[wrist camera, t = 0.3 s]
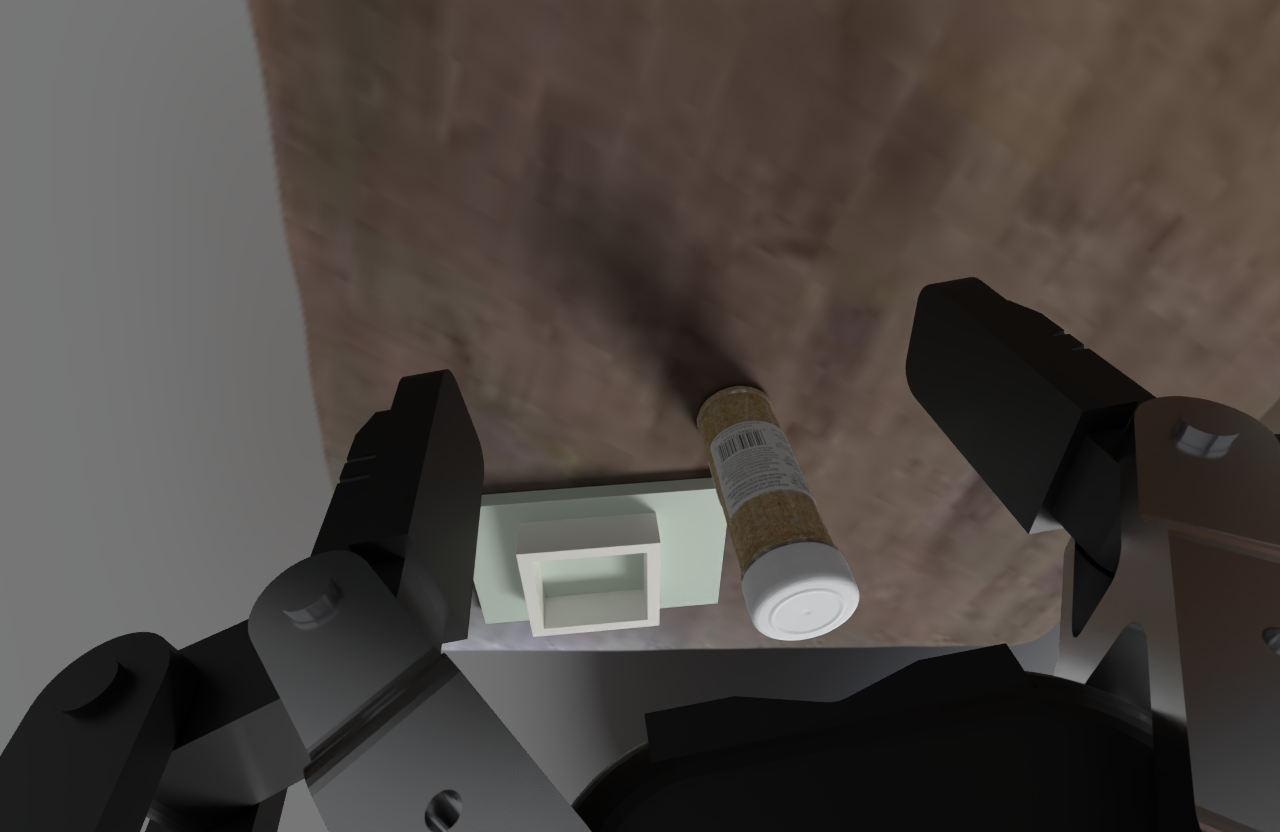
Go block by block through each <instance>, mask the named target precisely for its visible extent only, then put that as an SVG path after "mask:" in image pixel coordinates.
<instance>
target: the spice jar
mask: <svg viewBox="0 0 1280 832" xmlns="http://www.w3.org/2000/svg"><path fill="white" fill-rule="evenodd" d="M697 427H698V432H699V434H700V435H701V437H702V438H703V442H704V445H705V448H706V452H707V456H708V459H709V467H710V471H711V475H712V478H713V482H714V485H715V489H716V492H717V496H718V499H719V502H720V505H721V506H722V508H723V512H724V516H725V519H726V522H727V525H728V529H729V532H730V535H731V539H732V542H733V546H734V548H735V552H736V555H737V558H738V561H739V565H740V568H741V571H742V575H741V580H742V591H743V595H744V598H745V601H746V605H747V608H748V611H749V614H750V617H751V620H752V622H753V624H754V626H755V627H756V628H757V629H758V630H759V631H760V632H761V633H763V634H764V635H766V636H768V637H771V638H774V639H779V640H803V639H808V638H813V637H816V636H819V635H822V634H825V633H827V632H829V631H831V630H833V629H835V628H837V627H838V626H840V625H841V624H843V623H844V622H845V621H846V620H847V619H848V618H849V617H850V616H851V615H852V614H853V612H854V611H855V609H856V608H857V605H858V602H859V591H858V587H857V585H856V582H855V580H854V578H853V575H852V573H851V571H850V568H849V566H848V564H847V562H846V560H845V558H844V556H843V555H842V554H841V553H840V552H839V550H838V548H837V547H836V546H835V545H834V544H833V542H832V540H831V537H830V536H829V534H828V531H827V529H826V527H825V525H824V523H823V521H822V518H821V516H820V513H819V511H818V507H817V504H816V502H815V500H814V497H813V495H812V493H811V491H810V489H809V487H808V484H807V482H806V480H805V478H804V476H803V473H802V471H801V469H800V467H799V465H798V462H797V460H796V458H795V456H794V454H793V451H792V449H791V447H790V445H789V443H788V440H787V438H786V436H785V434H784V433H783V432H782V430H781V428H780V426H779V424H778V421H777V419H776V417H775V415H774V413H773V406H772V403H771V401H770V399H769V398H768V397H767V395H766V394H765V393H764V392H762V391H760V390H758V389H755V388H752V387H748V386H733V387H729V388H726V389H724V390H721V391H719V392H717V393H715V394H714V395H712V396H711V397H709V398H708V399H707V400H706V401H705V402H704V404H703V405H702V407H701V409H700V411H699V413H698V417H697Z"/></svg>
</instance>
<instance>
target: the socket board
mask: <svg viewBox="0 0 1280 832" xmlns="http://www.w3.org/2000/svg"><path fill="white" fill-rule="evenodd" d="M726 526H727V522H726V519H725V516H724V512H723V508H722V506H721V505H720V502H719V499H718V496H717V492H716V489H715V485H714V482H713V478H700V479H686V480H673V481H659V482H646V483H633V484H619V485H606V486H592V487H579V488H565V489H552V490H539V491H525V492H512V493H498V494H485V495H482V499H481V509H480V519H479V529H478V539H477V549H476V558H475V568H474V578H473V580H474V583H475V587H476V590H477V594H478V597H479V601H480V604H481V608H482V611H483V615H484V618H485V621H486V624H489V623H501V622H512V621H523V620H530V623H531V628H532V633H533V637H537V636H548V635H559V634H570V633H581V632H592V631H603V630H614V629H625V628H636V627H647V626H658V625H659V608H668V607H680V606H691V605H702V604H713V603H718V595H719V586H720V578H721V569H722V561H723V552H724V544H725V535H726Z"/></svg>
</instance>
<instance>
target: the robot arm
mask: <svg viewBox="0 0 1280 832" xmlns="http://www.w3.org/2000/svg"><path fill="white" fill-rule="evenodd" d="M906 377H907V382H908V385H909V388H910V390H911V392H912V394H913V396H914V397H915V398H916V399H917V401H918V402H919V403H920V404H921V405H922V407H923V408H924V409H925V410H926V411H927V413H928V414H929V415H930V416H931V417H932V419H933V420H934V421H935V422H936V423H937V425H938V426H939V427H940V428H941V429H942V431H943V432H944V433H945V434H946V435H947V437H948V438H949V439H950V440H951V441H952V443H953V444H954V445H955V446H956V447H957V449H958V450H959V451H960V452H961V453H962V455H963V456H964V457H965V458H966V460H967V461H968V462H969V463H970V464H971V466H972V467H973V468H974V469H975V470H976V472H977V473H978V474H979V475H980V476H981V478H982V479H983V480H984V481H985V482H986V484H987V485H988V486H989V487H990V488H991V490H992V491H993V492H994V493H995V494H996V496H997V497H998V498H999V499H1000V500H1001V502H1002V503H1003V504H1004V505H1005V506H1006V508H1007V509H1008V510H1009V511H1010V512H1011V514H1012V515H1013V516H1014V517H1015V518H1016V520H1017V521H1018V522H1019V523H1020V524H1021V526H1022V527H1023V528H1024V529H1025V530H1026V532H1027V533H1028V534H1033V533H1038V532H1043V531H1048V530H1054V529H1059V528H1064V529H1065V530H1066V531H1067V532H1068V533H1069V534H1070V535H1071V538H1070V540H1069V542H1068V544H1067V546H1066V548H1065V552H1064V565H1063V585H1062V604H1061V623H1060V642H1059V643H1060V644H1059V654H1058V659H1057V664H1056V668H1055V671H1054V674H1053V676H1052V675H1047V674H1041V673H1035V672H1028V671H1024V670H1023V668H1022V667H1021V665H1020V664H1019V662H1018V661H1017V659H1016V658H1015V656H1014V655H1013V653H1012V652H1011V650H1010V649H1009V647H1008V646H1007V644H1006V643H1005V644H999V645H994V646H989V647H984V648H979V649H975V650H969V651H964V652H958V653H954V654H948V655H943V656H938V657H933V658H928V659H923V660H918V661H916V662H914V663H912V664H910V665H908V666H907V667H905V668H903V669H901V670H899V671H897V672H895V673H893V674H891V675H889V676H887V677H886V678H884V679H882V680H880V681H878V682H876V683H874V684H872V685H870V686H868V687H866V688H865V689H863V690H861V691H859V692H857V693H855V694H853V695H851V696H849V697H847V698H846V699H843V700H840V701H837V702H812V701H797V700H782V699H767V698H752V697H737V696H734V697H729V698H723V699H718V700H713V701H708V702H703V703H698V704H693V705H688V706H682V707H677V708H672V709H667V710H662V711H657V712H652V713H646V714H645V721H646V728H647V735H648V741H646V742H644V743H642V744H641V745H639V746H636V747H635V748H633V749H631V750H630V751H628V752H627V753H625V754H624V755H622V756H621V757H619V758H618V759H616V760H615V761H614V762H612V763H611V764H610V765H609V766H607V767H606V768H605V769H604V770H603V771H602V772H601V773H600V774H599V775H597V776H596V777H595V778H594V779H593V780H592V781H591V782H590V783H589V785H588V786H587V787H586V788H585V789H584V790H583V791H582V792H581V794H580V795H579V796H578V797H577V798H576V800H575V801H574V802H573V804H572V805H571V806H570V804H569V803H568V802H567V801H566V800H565V798H564V797H563V796H562V795H561V793H560V792H559V791H558V790H557V789H556V787H555V786H554V785H553V784H552V782H551V781H550V780H549V779H548V778H547V776H546V775H545V774H544V773H543V771H542V770H541V769H540V768H539V766H538V765H537V764H536V763H535V762H534V760H533V759H532V758H531V757H530V756H529V754H528V753H527V752H526V751H525V749H524V748H523V747H522V746H521V744H520V743H519V742H518V741H517V740H516V738H515V737H514V736H513V735H512V734H511V732H510V731H509V730H508V728H507V727H506V726H505V725H504V724H503V723H502V721H501V720H500V719H499V718H498V716H497V715H496V714H495V713H494V711H493V710H492V709H491V708H490V706H489V705H488V704H487V703H486V702H485V700H484V699H483V698H482V697H481V695H480V694H479V693H478V692H477V691H476V689H475V688H474V687H473V686H472V684H471V683H470V682H469V681H468V679H467V678H466V677H465V676H464V675H463V673H462V672H461V671H460V670H459V669H458V667H457V666H456V665H455V664H454V663H453V662H452V660H451V659H450V658H449V657H448V656H447V655H446V654H445V653H443V654H441V647H442V644H443V643H448V642H453V641H459V640H464V639H467V637H468V627H469V617H470V608H471V598H472V588H473V578H474V568H475V558H476V549H477V539H478V529H479V519H480V509H481V499H482V489H483V480H484V461H483V454H482V449H481V445H480V441H479V438H478V436H477V433H476V430H475V428H474V425H473V423H472V420H471V418H470V415H469V413H468V410H467V407H466V405H465V402H464V400H463V397H462V395H461V392H460V390H459V387H458V384H457V382H456V380H455V377H454V376H453V374H452V372H451V371H450V370H448V369H445V370H440V371H434V372H428V373H423V374H417V375H412V376H406V377H403V378H401V380H400V382H399V385H398V388H397V391H396V394H395V397H394V400H393V404H392V407H391V410H386V411H381V412H376V413H375V414H374V415H373V416H372V417H371V418H370V419H369V421H368V422H367V423H366V424H365V425H364V426H363V427H362V428H361V429H360V431H359V432H358V433H357V434H356V435H355V438H354V440H353V443H352V446H351V449H350V451H349V454H348V457H347V462H348V463H345V465H344V467H343V470H342V473H341V475H340V478H339V479H340V483H339V484H337V486H336V489H335V492H334V494H333V497H332V500H331V503H330V505H329V508H328V510H327V513H326V516H325V518H324V521H323V524H322V526H321V529H320V532H319V535H318V537H317V540H316V543H315V545H314V548H313V551H312V554H311V556H310V557H308V558H306V559H304V560H301V561H299V562H298V563H296V564H294V565H293V566H291V567H289V568H288V569H286V570H285V571H284V572H282V573H281V574H280V575H279V576H277V577H276V578H275V579H274V580H273V581H272V582H271V583H270V584H269V585H268V586H267V587H266V588H265V589H264V591H263V592H262V593H261V595H260V596H259V597H258V599H257V601H256V602H255V604H254V606H253V608H252V610H251V613H250V616H249V619H247V620H245V621H243V622H241V623H239V624H237V625H234V626H232V627H230V628H228V629H225V630H223V631H221V632H219V633H216V634H214V635H212V636H210V637H207V638H205V639H203V640H201V641H199V642H196V643H194V644H192V645H189V646H187V647H185V648H183V649H180V650H177V649H176V648H174V647H173V646H172V645H171V644H170V643H169V642H167V641H166V640H165V639H164V638H163V637H161V636H159V635H157V634H155V633H150V632H137V633H131V634H126V635H123V636H120V637H117V638H114V639H112V640H110V641H107V642H105V643H103V644H101V645H99V646H97V647H95V648H93V649H92V650H90V651H88V652H87V653H85V654H84V655H82V656H81V657H79V658H78V659H76V660H75V661H74V662H72V663H71V664H70V665H68V666H67V667H66V668H65V669H64V670H63V671H61V672H60V673H59V674H58V675H57V676H56V677H55V678H54V679H53V680H52V681H51V682H50V683H49V684H48V685H47V686H46V687H45V688H44V689H43V691H42V692H41V693H40V694H39V696H38V697H37V698H36V700H35V701H34V702H33V704H32V705H31V707H30V708H29V710H28V712H27V713H26V715H25V717H24V718H23V720H22V722H21V723H20V725H19V726H18V728H17V730H16V731H15V733H14V735H13V736H12V738H11V739H10V741H9V743H8V744H7V746H6V748H5V749H4V751H3V753H2V754H1V756H0V832H140V830H141V828H142V825H143V822H144V820H145V818H146V817H148V818H150V820H149V823H148V826H147V828H146V831H145V832H277V829H278V825H279V821H280V817H281V813H282V809H283V805H284V801H285V797H286V792H287V788H288V787H289V786H291V785H293V784H294V783H297V782H298V781H300V780H302V779H304V778H305V781H306V784H307V786H308V789H309V791H310V794H311V796H312V798H313V800H314V802H315V804H316V806H317V808H318V810H319V812H320V814H321V817H322V819H323V821H324V823H325V825H326V827H327V829H328V831H329V832H1280V434H1273V433H1272V432H1271V431H1270V430H1269V429H1268V428H1267V427H1266V426H1265V425H1263V424H1262V423H1261V422H1259V421H1258V420H1256V419H1255V418H1253V417H1251V416H1249V415H1247V414H1246V413H1243V412H1241V411H1239V410H1237V409H1235V408H1232V407H1229V406H1226V405H1224V404H1220V403H1217V402H1213V401H1209V400H1205V399H1200V398H1193V397H1183V396H1167V397H1159V398H1156V397H1155V396H1153V395H1152V394H1151V393H1149V392H1148V391H1147V390H1145V389H1144V388H1142V387H1141V386H1140V385H1138V384H1137V383H1136V382H1134V381H1133V380H1131V379H1130V378H1129V377H1127V376H1126V375H1125V374H1123V373H1122V372H1121V371H1119V370H1118V369H1116V368H1115V367H1114V366H1112V365H1111V364H1110V363H1108V362H1107V361H1106V360H1104V359H1103V358H1101V357H1100V356H1099V355H1097V354H1096V353H1095V352H1093V351H1092V350H1091V349H1089V348H1088V349H1084V344H1082V343H1081V342H1080V341H1078V340H1077V339H1076V338H1074V337H1073V336H1071V335H1070V334H1064V330H1063V329H1062V328H1061V327H1059V326H1058V325H1056V324H1055V323H1054V322H1052V321H1051V320H1050V319H1048V318H1047V317H1045V316H1044V315H1043V314H1041V313H1039V312H1037V311H1034V310H1032V309H1029V308H1027V307H1024V306H1022V305H1019V304H1017V303H1014V302H1012V301H1009V300H1006V299H1005V298H1003V297H1002V296H1001V295H999V294H998V293H997V292H995V291H994V290H993V289H991V288H990V287H989V286H987V285H986V284H985V283H983V282H982V281H981V280H979V279H978V278H975V277H969V278H963V279H958V280H952V281H946V282H941V283H935V284H930V285H927V286H925V287H924V288H923V289H922V290H921V292H920V294H919V297H918V301H917V306H916V312H915V317H914V322H913V328H912V333H911V338H910V343H909V349H908V354H907V359H906Z"/></svg>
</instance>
